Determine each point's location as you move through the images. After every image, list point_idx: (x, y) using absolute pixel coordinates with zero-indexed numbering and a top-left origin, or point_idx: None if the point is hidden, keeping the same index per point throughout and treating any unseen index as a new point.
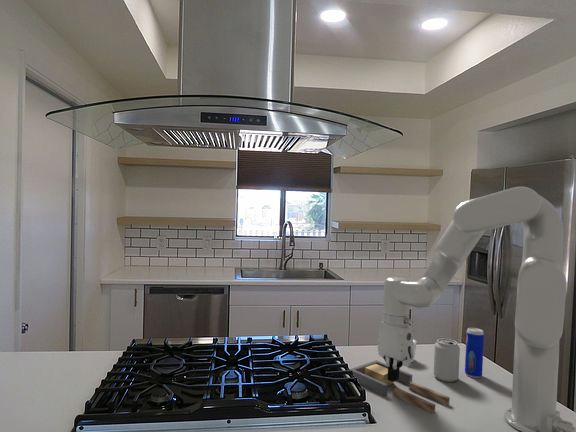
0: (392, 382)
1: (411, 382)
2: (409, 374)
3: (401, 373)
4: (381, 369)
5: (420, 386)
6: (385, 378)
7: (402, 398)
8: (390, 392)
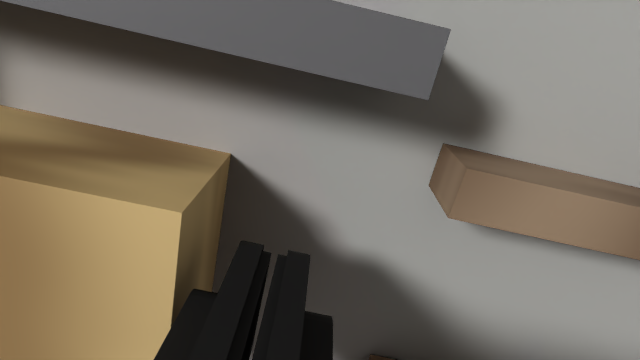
0: (224, 172)
1: (470, 197)
2: (406, 67)
3: (260, 58)
4: (19, 277)
5: (602, 232)
6: None
7: None
8: None
